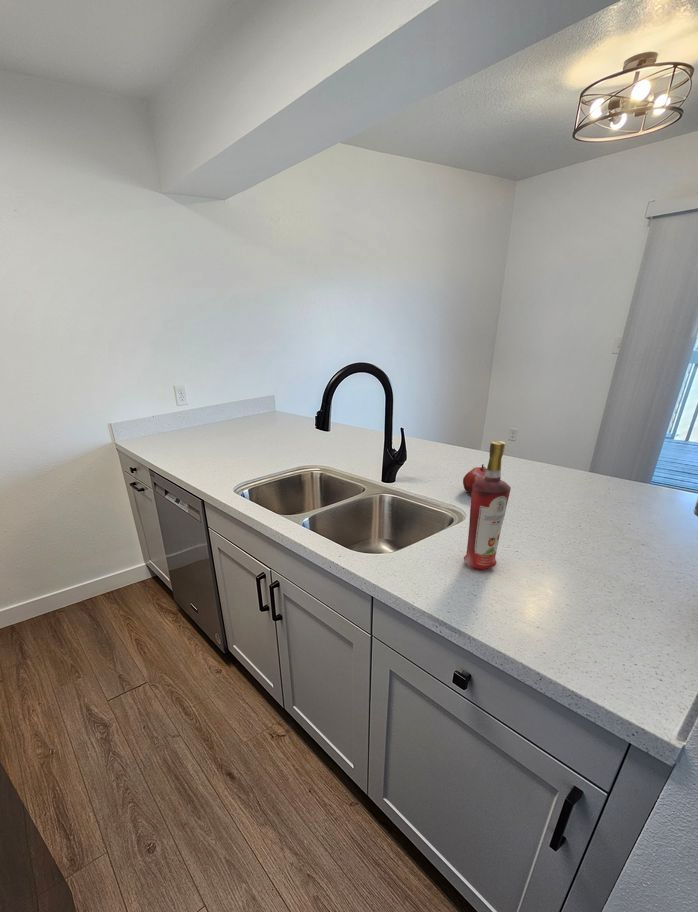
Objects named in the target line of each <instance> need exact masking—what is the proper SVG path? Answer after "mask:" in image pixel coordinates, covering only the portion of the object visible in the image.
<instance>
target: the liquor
mask: <svg viewBox="0 0 698 912" xmlns="http://www.w3.org/2000/svg"><path fill="white" fill-rule="evenodd" d="M489 446H490V447H489V458H488V462H487V466H486V469H487V471H486V475H485V479H481V480H479V481H477V482H475V483H474V484H473V485H472V493H471V498H470V506H469V522H468V523H469V524H468V534H467V545H466V553H465V555H464V557H463V561H464V563H465V564H467V566H468V567H469V568H471V569H473V570H476V571H487V570H489V569H492V568H493V567H495V566H496V565H497V564H498V563H497V558H496V557H497V550H498V545H499V541H500V536H501V532H502V528H503V523H504V520H505V516H506V511H507V507H508V504H509V503H508V502H509V497H510V493H511V489H512V487H511V486H510V485H509V484H508V483H507V482H506V481H505V480H502V479H501V477H502V460H503V459H502V458H503V456H504V454H505V448H506V442H505V441H500V440H493V441H491V442H490V445H489Z"/></svg>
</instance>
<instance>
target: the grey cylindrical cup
mask: <svg viewBox="0 0 698 912" xmlns="http://www.w3.org/2000/svg"><path fill="white" fill-rule="evenodd" d="M693 514H694V515H695V517H698V498H697V499H696V502H695V504H694V508H693Z"/></svg>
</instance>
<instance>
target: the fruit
mask: <svg viewBox="0 0 698 912" xmlns="http://www.w3.org/2000/svg"><path fill="white" fill-rule="evenodd" d="M486 471H487V467H485V466H484V463H483V464H482V465H481V466H479V467H477V466H476V467H473V468H472V469H471V470H469V471H468V472H467V473H466V474H465V475H464V477H463V478H462V485H463V489H464V490H465V491H466V492H467V493H470V494H472V485H473V484H474V483H475V482H477V481H479V480H481V479H485V475H486Z"/></svg>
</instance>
